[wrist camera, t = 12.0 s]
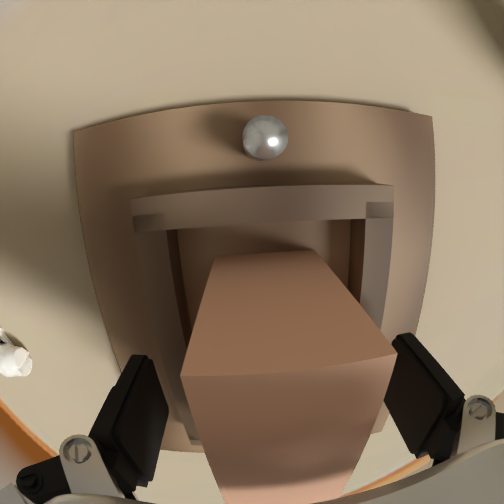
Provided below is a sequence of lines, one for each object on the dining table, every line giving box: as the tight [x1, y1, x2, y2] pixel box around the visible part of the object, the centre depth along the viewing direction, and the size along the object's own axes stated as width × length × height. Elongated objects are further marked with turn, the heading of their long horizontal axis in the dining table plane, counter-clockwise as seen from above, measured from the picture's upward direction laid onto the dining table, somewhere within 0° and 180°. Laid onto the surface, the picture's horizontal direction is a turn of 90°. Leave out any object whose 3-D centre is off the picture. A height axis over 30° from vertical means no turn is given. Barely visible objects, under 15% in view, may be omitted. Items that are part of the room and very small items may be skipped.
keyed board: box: [74, 101, 435, 453], centre depth 12 cm, size 16×20×3 cm
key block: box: [180, 250, 398, 504], centre depth 9 cm, size 8×4×7 cm, turn 3°
